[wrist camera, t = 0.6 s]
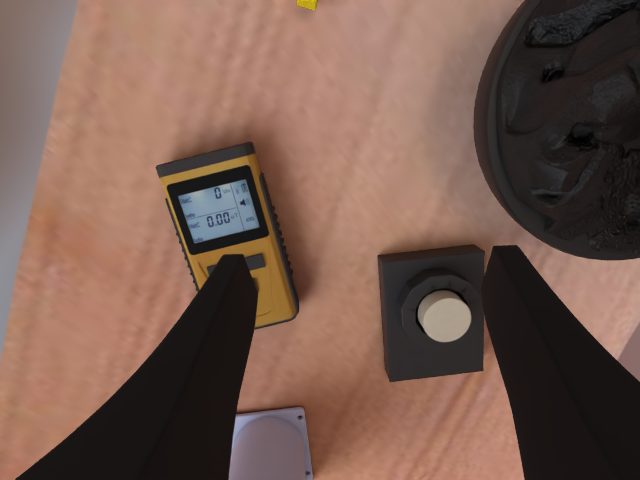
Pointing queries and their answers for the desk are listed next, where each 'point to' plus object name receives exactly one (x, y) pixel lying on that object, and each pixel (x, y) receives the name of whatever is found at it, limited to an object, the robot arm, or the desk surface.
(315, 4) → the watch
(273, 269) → the electronic device
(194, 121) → the desk surface
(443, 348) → the switch box
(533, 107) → the coal bowl
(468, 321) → the power button
